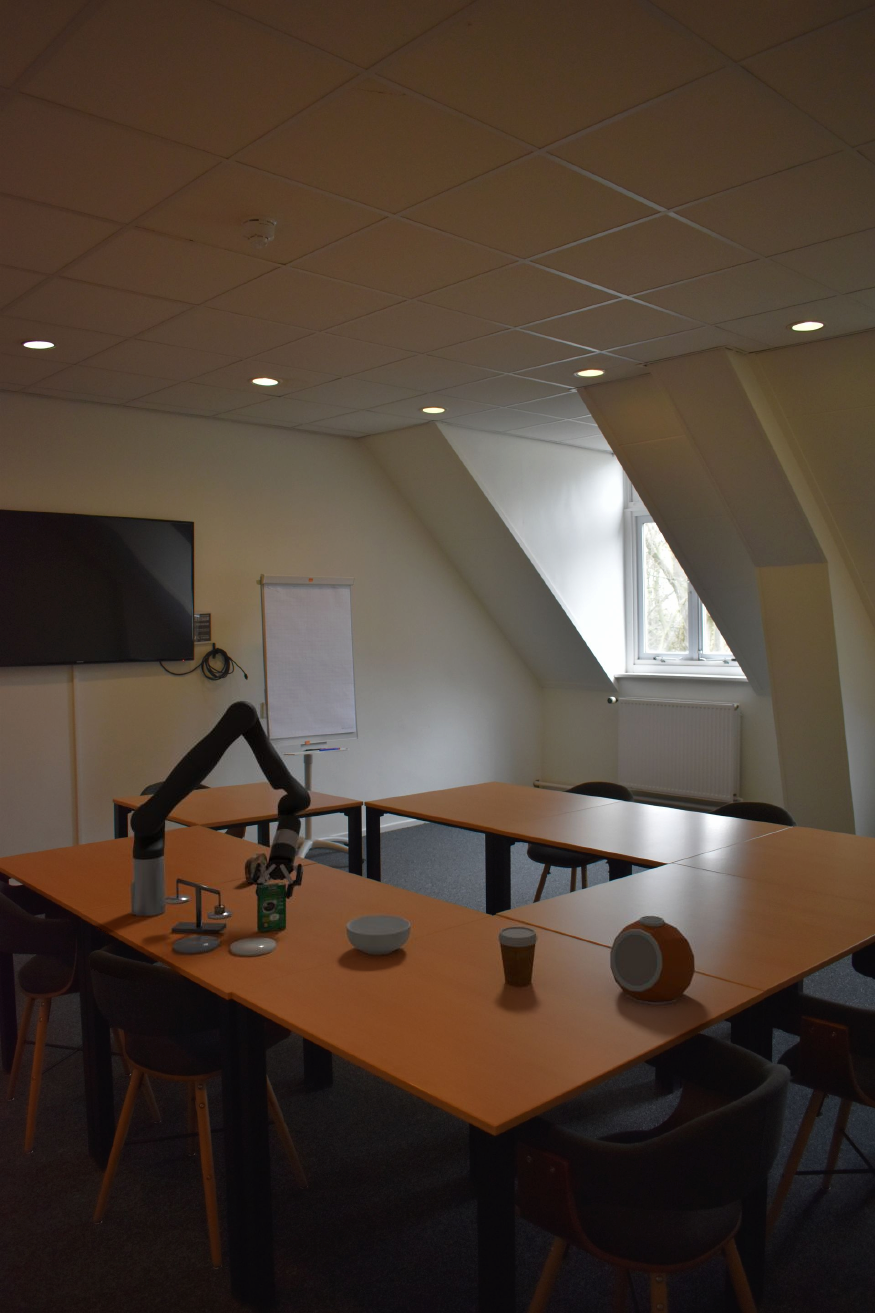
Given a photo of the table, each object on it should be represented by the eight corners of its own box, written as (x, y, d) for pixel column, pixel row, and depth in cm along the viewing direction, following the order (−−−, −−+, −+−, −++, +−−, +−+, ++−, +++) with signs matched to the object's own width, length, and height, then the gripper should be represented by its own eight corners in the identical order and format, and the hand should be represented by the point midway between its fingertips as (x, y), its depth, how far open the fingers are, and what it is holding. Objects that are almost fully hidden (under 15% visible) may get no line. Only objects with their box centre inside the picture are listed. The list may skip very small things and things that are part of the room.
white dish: (223, 955, 247) (223, 951, 247) (239, 940, 259) (239, 937, 259) (267, 957, 245) (267, 953, 245) (281, 942, 257) (281, 938, 257)
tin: (252, 886, 316) (251, 861, 316) (243, 885, 317) (242, 860, 316) (268, 874, 331) (268, 850, 330) (260, 874, 331) (260, 850, 331)
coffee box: (283, 926, 271) (282, 881, 271) (287, 929, 269) (286, 883, 268) (256, 931, 267) (256, 885, 267) (260, 933, 265) (259, 887, 264)
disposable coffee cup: (513, 971, 232) (512, 923, 231) (545, 980, 226) (545, 930, 225) (490, 983, 224) (489, 933, 224) (523, 992, 218) (522, 941, 218)
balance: (161, 932, 267) (160, 881, 266) (171, 925, 274) (170, 874, 273) (227, 934, 264) (226, 882, 264) (236, 927, 271) (235, 876, 271)
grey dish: (166, 953, 249) (165, 949, 249) (184, 938, 261) (184, 935, 261) (209, 955, 248) (209, 951, 248) (225, 940, 259) (225, 936, 259)
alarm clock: (595, 993, 217) (594, 919, 217) (637, 973, 229) (637, 903, 229) (668, 1016, 203) (667, 937, 203) (709, 994, 216) (708, 919, 215)
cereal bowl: (353, 964, 239) (352, 936, 239) (341, 944, 255) (341, 918, 255) (417, 957, 243) (417, 930, 243) (402, 937, 259) (402, 912, 259)
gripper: (258, 841, 278) (245, 890, 267) (304, 841, 276) (294, 891, 265) (264, 854, 284) (252, 903, 273) (310, 855, 282) (300, 904, 271)
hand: (273, 897), depth 269 cm, fingers open, 8 cm apart
